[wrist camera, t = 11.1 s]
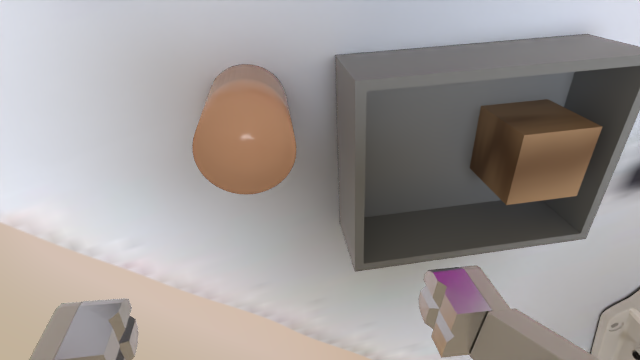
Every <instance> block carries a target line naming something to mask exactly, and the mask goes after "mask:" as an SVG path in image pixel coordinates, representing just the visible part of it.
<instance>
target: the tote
mask: <svg viewBox="0 0 640 360" xmlns="http://www.w3.org/2000/svg"><path fill="white" fill-rule="evenodd" d="M335 64H336V102H337V141H338V180H339V219H340V225H341V228H342V231H343V235H344V238H345V241H346V244H347V248H348V251H349V254H350V257H351V261H352V264H353V267H354V270H355V271H362V270H369V269H376V268H383V267H390V266H397V265H404V264H411V263H418V262H425V261H432V260H439V259H446V258H454V257H461V256H468V255H475V254H482V253H489V252H496V251H503V250H510V249H517V248H524V247H531V246H538V245H545V244H552V243H560V242H567V241H574V240H581V239H586V237H587V235H588V232H589V230H590V227H591V225H592V223H593V220H594V218H595V216H596V213H597V211H598V208H599V206H600V204H601V201H602V199H603V196H604V194H605V192H606V189H607V187H608V184H609V182H610V180H611V177H612V175H613V173H614V170H615V168H616V165H617V163H618V161H619V158H620V156H621V153H622V151H623V149H624V146H625V144H626V141H627V139H628V137H629V134H630V132H631V130H632V127H633V125H634V122H635V120H636V118H637V115H638V113H639V110H640V47H638V46H634V45H630V44H626V43H622V42H618V41H614V40H609V39H605V38H601V37H597V36H593V35H589V34H582V35H570V36H558V37H546V38H534V39H522V40H510V41H498V42H487V43H475V44H463V45H451V46H439V47H427V48H415V49H403V50H391V51H379V52H367V53H355V54H343V55H335ZM544 99H548V100H550V101H552V102H554V103H556V104H558V105H560V106H562V107H564V108H566V109H568V110H570V111H572V112H574V113H576V114H578V115H580V116H582V117H584V118H586V119H588V120H590V121H592V122H594V123H596V124H598V125H600V126H602V130H601V132H600V135H599V138H598V140H597V143H596V146H595V148H594V151H593V154H592V156H591V159H590V162H589V164H588V167H587V170H586V172H585V175H584V178H583V180H582V183H581V186H580V189H579V191H578V194H577V196H573V197H565V198H557V199H549V200H542V201H534V202H526V203H518V204H511V205H506V204H505V203H504V202H503V201H502V200H501V199H500V198H499V197H498V196H497V195H496V194H495V193H494V192H493V191H492V190H491V189H490V188H489V187H488V186H487V185H486V184H485V183H484V182H483V181H482V180H481V179H480V178H479V177H478V176H477V175H476V174H475V173H474V172H473V171H472V170H471V169H470V163H471V158H472V152H473V147H474V141H475V136H476V131H477V125H478V120H479V114H480V109H481V106H485V105H495V104H505V103H515V102H525V101H535V100H544Z"/></svg>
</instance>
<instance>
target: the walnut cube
mask: <svg viewBox="0 0 640 360" xmlns="http://www.w3.org/2000/svg"><path fill="white" fill-rule="evenodd" d="M601 130H602V126H600V125H598V124H596V123H594V122H592V121H590V120H588V119H586V118H584V117H582V116H580V115H578V114H576V113H574V112H572V111H570V110H568V109H566V108H564V107H562V106H560V105H558V104H556V103H554V102H552V101H550V100H548V99H544V100H535V101H525V102H515V103H505V104H495V105H485V106H481V109H480V114H479V120H478V125H477V131H476V136H475V141H474V147H473V152H472V158H471V163H470V169H471V170H472V171H473V172H474V173H475V174H476V175H477V176H478V177H479V178H480V179H481V180H482V181H483V182H484V183H485V184H486V185H487V186H488V187H489V188H490V189H491V190H492V191H493V192H494V193H495V194H496V195H497V196H498V197H499V198H500V199H501V200H502V201H503V202H504V203H505V204H506V205H511V204H518V203H526V202H534V201H542V200H549V199H557V198H565V197H573V196H577V194H578V191H579V189H580V186H581V183H582V180H583V178H584V175H585V172H586V170H587V167H588V164H589V162H590V159H591V156H592V154H593V151H594V148H595V146H596V143H597V140H598V138H599V135H600V132H601Z"/></svg>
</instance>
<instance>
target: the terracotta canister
mask: <svg viewBox="0 0 640 360" xmlns="http://www.w3.org/2000/svg"><path fill="white" fill-rule="evenodd" d="M193 156H194V159H195V162H196V165H197V167H198V169H199V170H200V172H201V173H202V174H203V175H204V177H205V178H206V179H207V180H209V181H210V182H211V183H212V184H214V185H215V186H217V187H219V188H221V189H223V190H226V191H228V192H232V193H237V194H255V193H260V192H263V191H266V190H269V189H271V188H273V187H275V186H276V185H278V184H279V183H280V182H281V181H282V180H284V179H285V178H286V176H287V175H288V174H289V172H290V171H291V169H292V167H293V165H294V162H295V158H296V142H295V137H294V132H293V127H292V122H291V117H290V112H289V107H288V103H287V98H286V94H285V90H284V88H283V86H282V84H281V83H280V81H279V80H278V79H277V78H276V77H275V76H274V75H273V74H272V73H271V72H269V71H268V70H266V69H264V68H262V67H259V66H255V65H249V64H242V65H236V66H233V67H230V68H228V69H226V70H225V71H223V72H222V73H221V74H219V75H218V77H217V78H216V79H215V80H214V82H213V84H212V86H211V88H210V91H209V94H208V97H207V100H206V103H205V105H204V108H203V111H202V114H201V117H200V120H199V123H198V126H197V129H196V132H195V135H194V138H193Z"/></svg>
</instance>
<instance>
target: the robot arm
mask: <svg viewBox="0 0 640 360" xmlns="http://www.w3.org/2000/svg"><path fill="white" fill-rule="evenodd" d="M424 282H425V284H426V286H425V287H424V288H423V289H422V290H421V291H420V295H419V308H420V312H421V315H422V318H423V320H424V322H425V323H426V324H427V325H428V326H430V327H431V328H432V329H433V332H432V336H431V337H432V339H433V341H434V343H435V345H436V347H437V349H438V351H439V353H440V355H441V357H450V356H460V355H469V354H470V357H471V358H472V359H473V360H640V290H639V291H637V292H636V293H635V294H633V295H632V296H631V297H629V298H628V299H626V300H624V301H622V302H620V303H618V304H616V305H614V306H612V307H610V308H608V309H607V310H606V311H604V312H603V313H602V315H601V317H600V321H599V324H598V328H597V332H596V336H595V340H594V344H593V348H592V352H591V354H590V353H588V352H586V351H585V350H583V349H581V348H580V347H578V346H576V345H575V344H573V343H571V342H570V341H568V340H566V339H565V338H563V337H561V336H560V335H558V334H556V333H555V332H553V331H552V330H550V329H548V328H547V327H545V326H543V325H542V324H540V323H538V322H537V321H535V320H533V319H532V318H530V317H528V316H527V315H525V314H523V313H522V312H520V311H518V310H517V309H510V308H509V306H508V305H507V304H506V302H505V301H504V299H503V298H502V297H501V295H500V294H499V293H498V291H497V290H496V289H495V287H494V286H493V285H492V283H491V282H490V280H489V279H488V278H487V276H486V275H485V274H484V272H483V271H482V270H481V268H479V267H478V266H467V267H460V268H459V267H455V268H446V269H436V270H428V271H427V272H426V273H425V276H424ZM131 308H132V307H131V305H130V302H129V299H113V300H98V301H85V302H75V303H74V302H73V303H62V304H61V305H60V306H58V307H57V308H56V310H55V311H54V313H53V315H52V317H51V319H50V321H49V323H48V324H47V326H46V328H45V330H44V332H43V334H42V336H41V338H40V340H39V342H38V343H37V345H36V347H35V349H34V351H33V353H32V355H31V357H30V359H29V360H132V359H133V358H134V357H135V353H136V349H137V343H138V327H137V323H136V320H135V319H134V318H132V317H131V316H129V315H130V312H131Z"/></svg>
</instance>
